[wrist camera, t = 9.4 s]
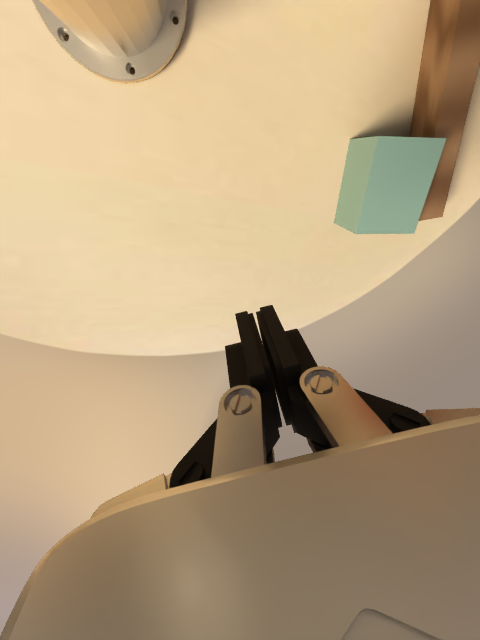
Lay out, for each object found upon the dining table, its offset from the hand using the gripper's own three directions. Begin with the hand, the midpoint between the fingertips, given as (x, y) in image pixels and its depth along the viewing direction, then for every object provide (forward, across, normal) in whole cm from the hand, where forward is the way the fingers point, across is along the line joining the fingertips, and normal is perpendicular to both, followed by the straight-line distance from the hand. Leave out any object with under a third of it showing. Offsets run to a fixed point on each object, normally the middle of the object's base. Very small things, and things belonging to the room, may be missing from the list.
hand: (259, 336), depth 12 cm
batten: (+25, -24, -5) cm, 35 cm away
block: (+25, -18, 0) cm, 31 cm away
